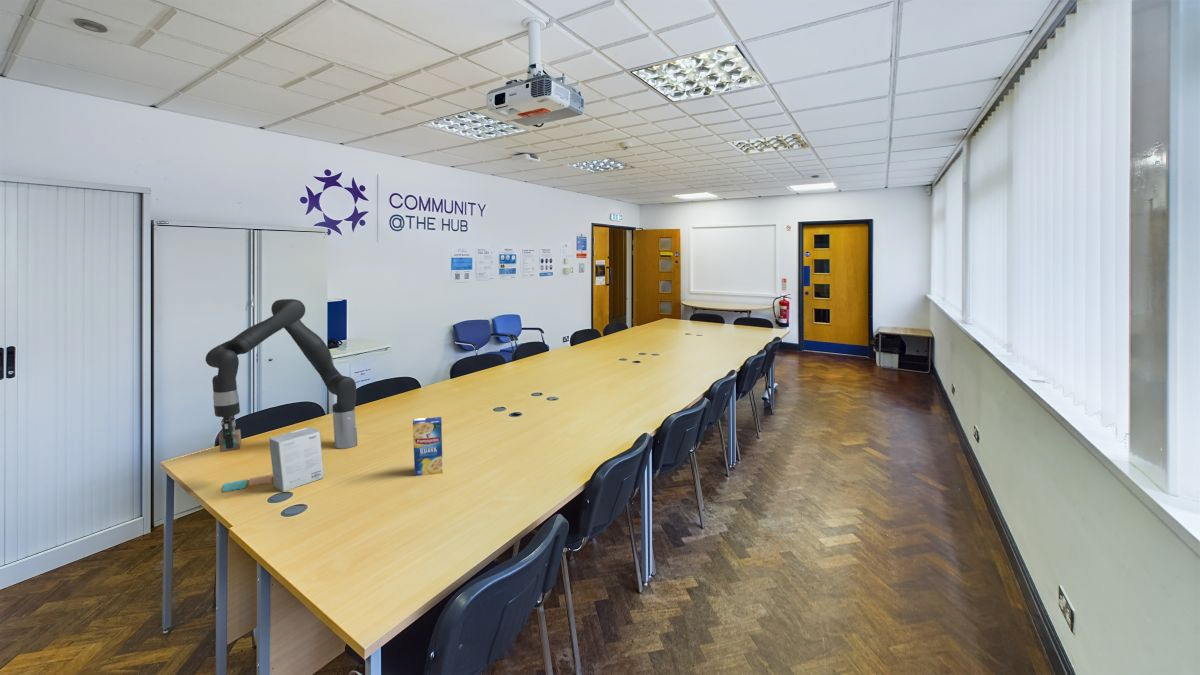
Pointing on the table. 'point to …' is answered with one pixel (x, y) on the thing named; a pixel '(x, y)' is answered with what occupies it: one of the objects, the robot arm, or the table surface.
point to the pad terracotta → (260, 480)
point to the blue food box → (427, 446)
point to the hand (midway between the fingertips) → (230, 445)
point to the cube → (236, 441)
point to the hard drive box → (296, 458)
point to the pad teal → (234, 485)
